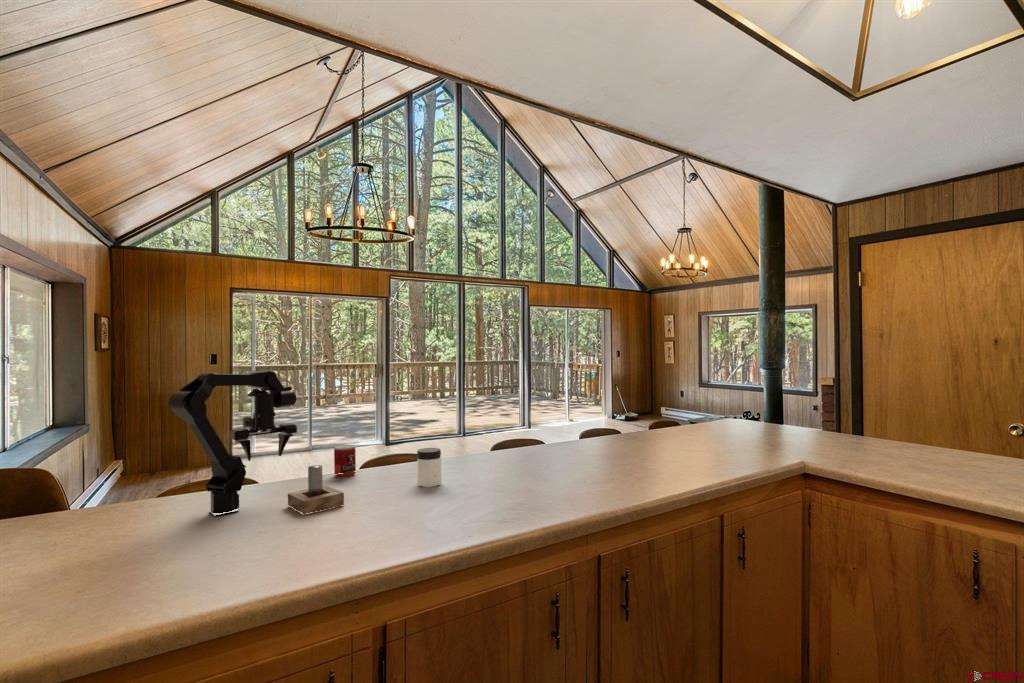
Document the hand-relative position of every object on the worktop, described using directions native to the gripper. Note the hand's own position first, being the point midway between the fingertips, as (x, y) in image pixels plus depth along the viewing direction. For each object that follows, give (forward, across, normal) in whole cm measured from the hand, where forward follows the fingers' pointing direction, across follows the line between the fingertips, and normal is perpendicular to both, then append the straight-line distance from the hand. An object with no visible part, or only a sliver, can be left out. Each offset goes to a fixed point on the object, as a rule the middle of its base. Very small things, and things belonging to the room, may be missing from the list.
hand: (264, 458), depth 159 cm
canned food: (+13, -32, -10) cm, 36 cm away
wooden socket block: (+13, -8, +20) cm, 25 cm away
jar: (+13, -46, +25) cm, 54 cm away
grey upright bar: (+13, -8, +20) cm, 25 cm away
